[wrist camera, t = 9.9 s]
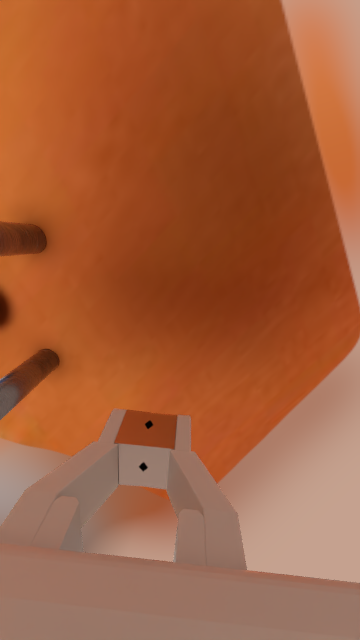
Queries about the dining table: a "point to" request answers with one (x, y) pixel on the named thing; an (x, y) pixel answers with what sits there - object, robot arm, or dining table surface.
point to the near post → (20, 239)
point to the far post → (25, 379)
